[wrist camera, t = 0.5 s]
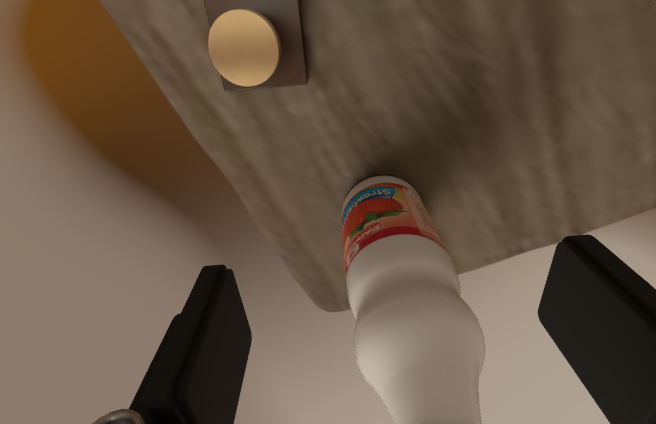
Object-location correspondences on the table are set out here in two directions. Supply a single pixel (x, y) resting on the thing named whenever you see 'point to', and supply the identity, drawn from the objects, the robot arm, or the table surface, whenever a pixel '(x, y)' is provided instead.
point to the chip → (244, 47)
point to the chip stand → (284, 14)
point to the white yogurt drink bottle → (409, 308)
